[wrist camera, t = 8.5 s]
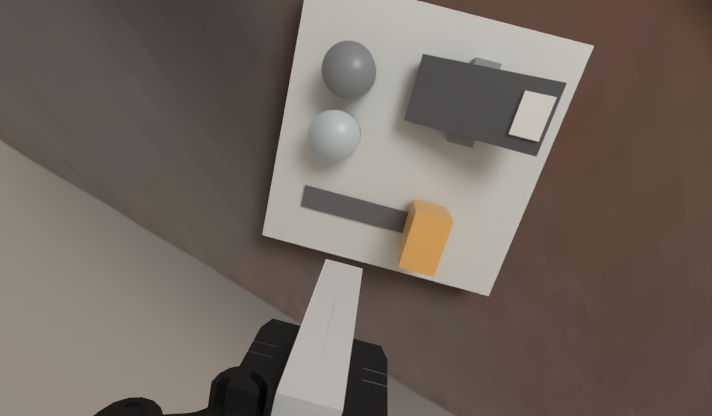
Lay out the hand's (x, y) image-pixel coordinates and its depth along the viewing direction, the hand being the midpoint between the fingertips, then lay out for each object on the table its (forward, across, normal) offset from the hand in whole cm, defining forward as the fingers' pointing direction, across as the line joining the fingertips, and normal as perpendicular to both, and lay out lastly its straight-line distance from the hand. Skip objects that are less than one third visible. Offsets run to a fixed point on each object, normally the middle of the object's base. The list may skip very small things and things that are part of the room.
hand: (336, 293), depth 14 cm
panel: (+15, +2, +5) cm, 16 cm away
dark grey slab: (+10, +5, +9) cm, 14 cm away
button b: (+12, -3, +5) cm, 13 cm away
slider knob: (+12, +5, 0) cm, 12 cm away
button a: (+12, -3, +9) cm, 15 cm away
